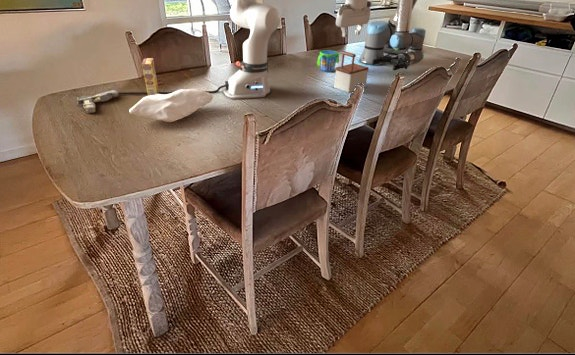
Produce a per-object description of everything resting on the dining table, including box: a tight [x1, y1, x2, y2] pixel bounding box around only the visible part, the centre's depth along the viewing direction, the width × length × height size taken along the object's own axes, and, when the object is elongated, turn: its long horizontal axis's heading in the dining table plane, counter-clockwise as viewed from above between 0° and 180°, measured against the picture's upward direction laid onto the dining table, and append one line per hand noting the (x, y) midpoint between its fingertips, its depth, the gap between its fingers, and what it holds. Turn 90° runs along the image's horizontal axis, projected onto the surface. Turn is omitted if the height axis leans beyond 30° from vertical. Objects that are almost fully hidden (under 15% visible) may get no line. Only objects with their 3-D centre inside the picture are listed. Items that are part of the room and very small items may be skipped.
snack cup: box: [316, 49, 340, 73], centre depth 207 cm, size 16×10×10 cm
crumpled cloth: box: [129, 88, 214, 123], centre depth 147 cm, size 24×35×9 cm
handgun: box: [76, 89, 120, 114], centre depth 155 cm, size 3×18×15 cm
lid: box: [334, 50, 369, 75], centre depth 179 cm, size 15×10×9 cm, turn 132°
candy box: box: [141, 57, 160, 96], centre depth 163 cm, size 9×4×15 cm, turn 13°
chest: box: [333, 69, 369, 93], centre depth 184 cm, size 14×10×9 cm
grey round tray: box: [383, 44, 409, 55], centre depth 258 cm, size 35×35×9 cm
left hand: (350, 35), depth 170 cm, fingers open, 8 cm apart
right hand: (383, 65), depth 198 cm, fingers open, 13 cm apart
